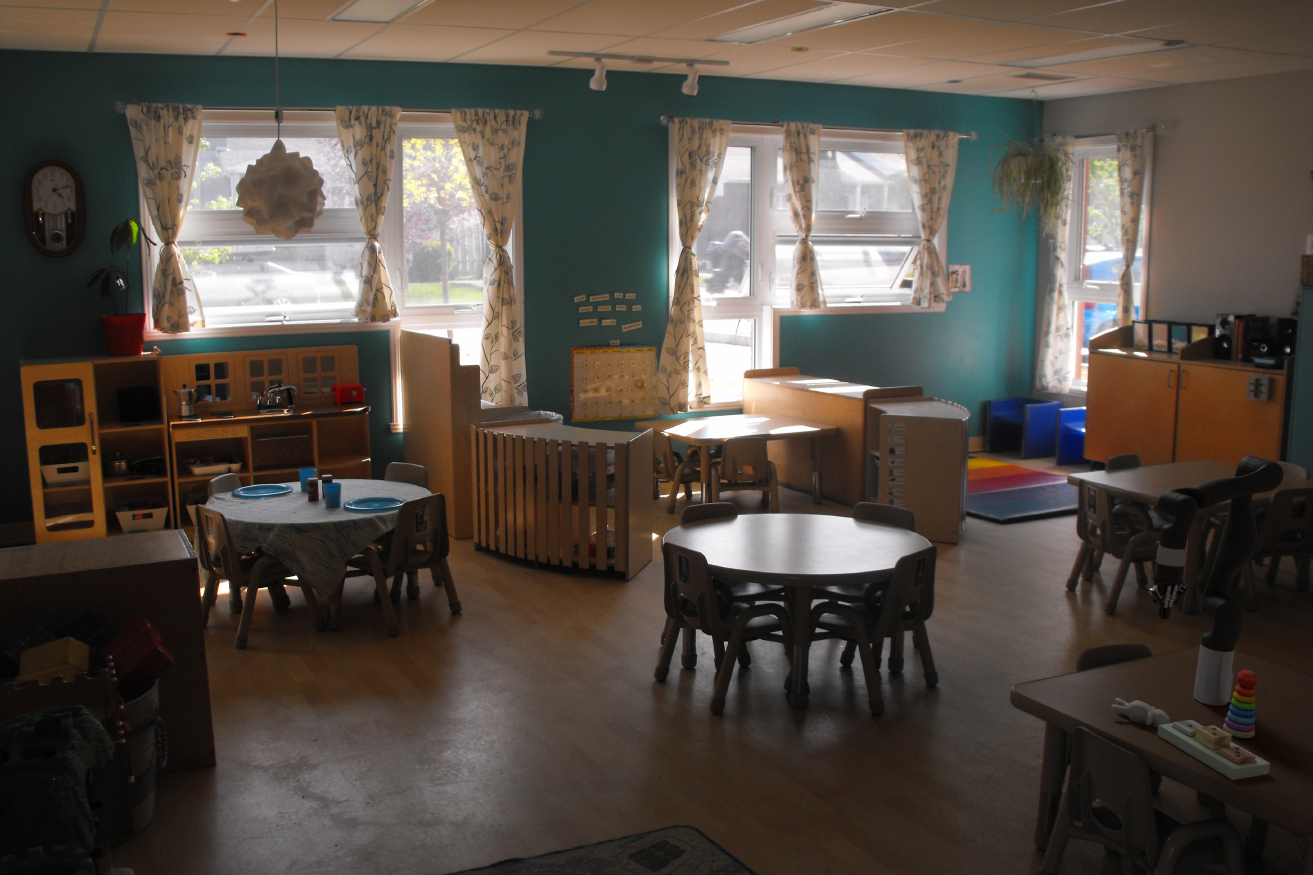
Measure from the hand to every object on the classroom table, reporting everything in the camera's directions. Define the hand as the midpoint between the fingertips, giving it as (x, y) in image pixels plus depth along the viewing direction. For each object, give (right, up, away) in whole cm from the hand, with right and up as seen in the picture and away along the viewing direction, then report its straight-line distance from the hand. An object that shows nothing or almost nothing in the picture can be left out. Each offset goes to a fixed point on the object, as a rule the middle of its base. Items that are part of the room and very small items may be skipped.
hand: (1163, 618), depth 309 cm
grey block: (+1, -31, -13) cm, 34 cm away
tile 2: (+3, -31, -20) cm, 37 cm away
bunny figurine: (-7, -30, 0) cm, 31 cm away
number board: (+3, -33, -20) cm, 39 cm away
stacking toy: (+18, -31, -7) cm, 37 cm away
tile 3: (+6, -34, -27) cm, 44 cm away
